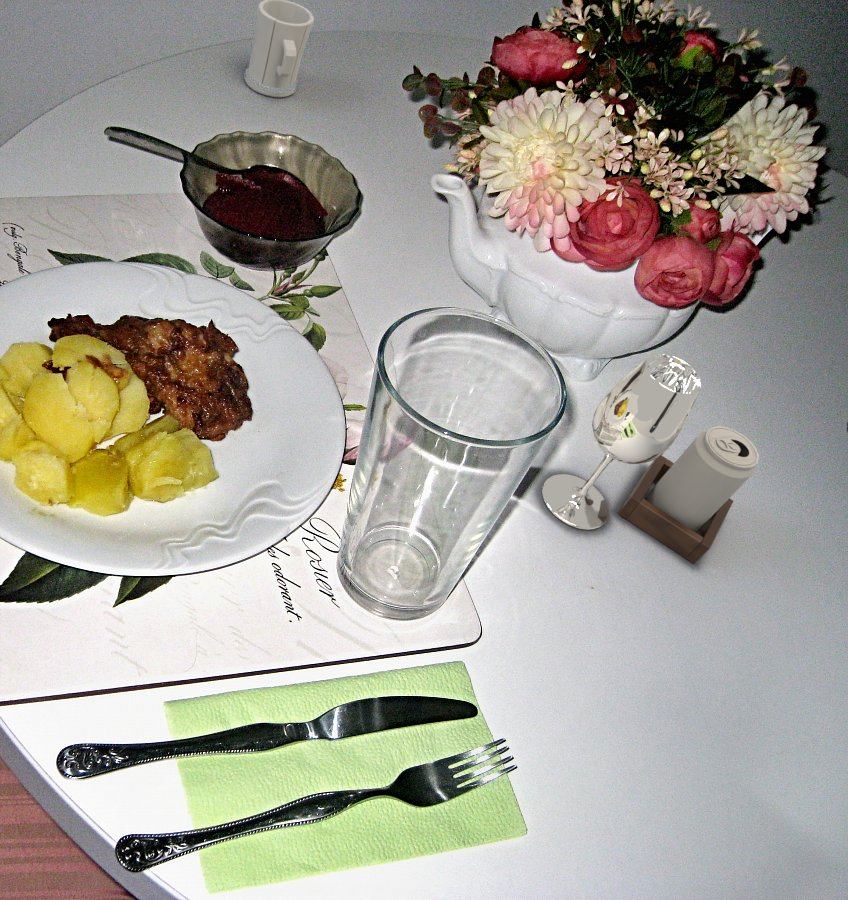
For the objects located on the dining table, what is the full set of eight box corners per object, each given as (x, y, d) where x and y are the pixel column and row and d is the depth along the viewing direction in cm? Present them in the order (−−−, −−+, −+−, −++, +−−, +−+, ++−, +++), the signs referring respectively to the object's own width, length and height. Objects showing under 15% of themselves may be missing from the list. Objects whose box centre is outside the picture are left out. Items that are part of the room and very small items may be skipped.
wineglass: (527, 494, 98) (619, 363, 83) (564, 464, 102) (658, 334, 88) (585, 543, 95) (691, 415, 80) (620, 509, 99) (727, 383, 85)
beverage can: (704, 542, 98) (772, 474, 90) (650, 533, 98) (714, 464, 89) (687, 497, 103) (751, 428, 94) (635, 488, 102) (695, 417, 93)
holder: (718, 516, 102) (733, 500, 100) (693, 564, 96) (709, 548, 94) (645, 470, 104) (659, 453, 102) (617, 513, 99) (631, 497, 97)
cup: (313, 96, 148) (333, 24, 140) (277, 109, 143) (295, 35, 134) (268, 66, 152) (284, -6, 143) (231, 78, 147) (246, 4, 138)
